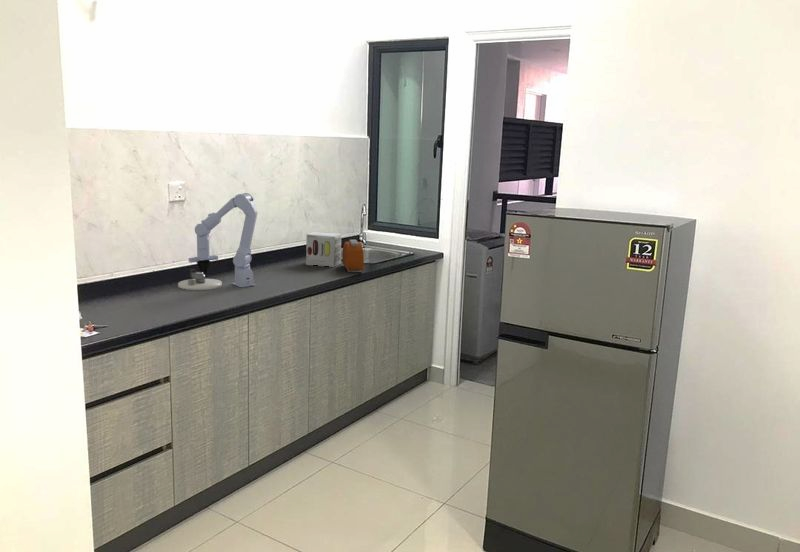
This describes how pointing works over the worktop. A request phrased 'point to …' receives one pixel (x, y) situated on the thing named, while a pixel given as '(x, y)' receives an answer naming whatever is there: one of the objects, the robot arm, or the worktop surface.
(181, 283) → the base
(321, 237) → the supplement box
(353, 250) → the orange plastic container
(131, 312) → the worktop surface
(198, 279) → the latch lever
